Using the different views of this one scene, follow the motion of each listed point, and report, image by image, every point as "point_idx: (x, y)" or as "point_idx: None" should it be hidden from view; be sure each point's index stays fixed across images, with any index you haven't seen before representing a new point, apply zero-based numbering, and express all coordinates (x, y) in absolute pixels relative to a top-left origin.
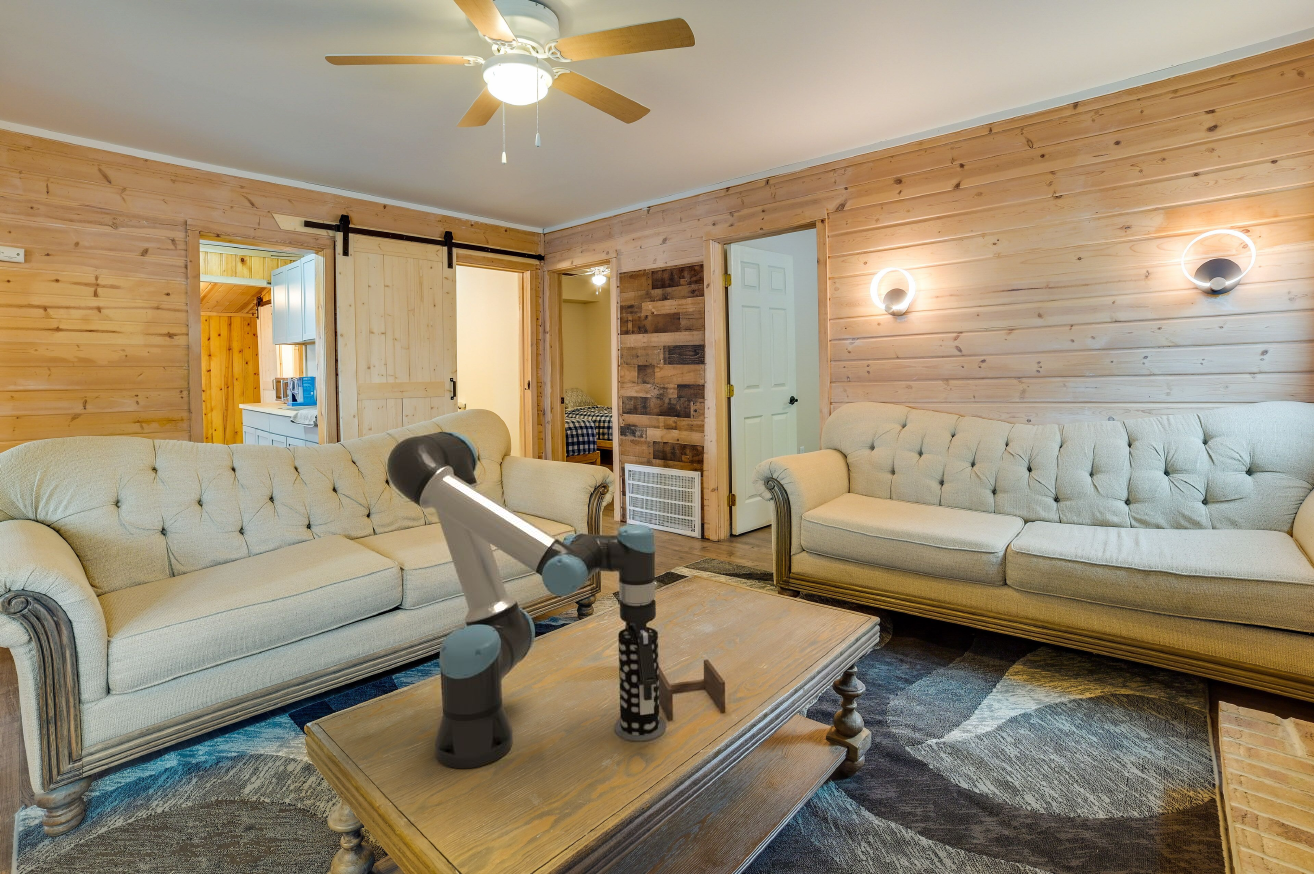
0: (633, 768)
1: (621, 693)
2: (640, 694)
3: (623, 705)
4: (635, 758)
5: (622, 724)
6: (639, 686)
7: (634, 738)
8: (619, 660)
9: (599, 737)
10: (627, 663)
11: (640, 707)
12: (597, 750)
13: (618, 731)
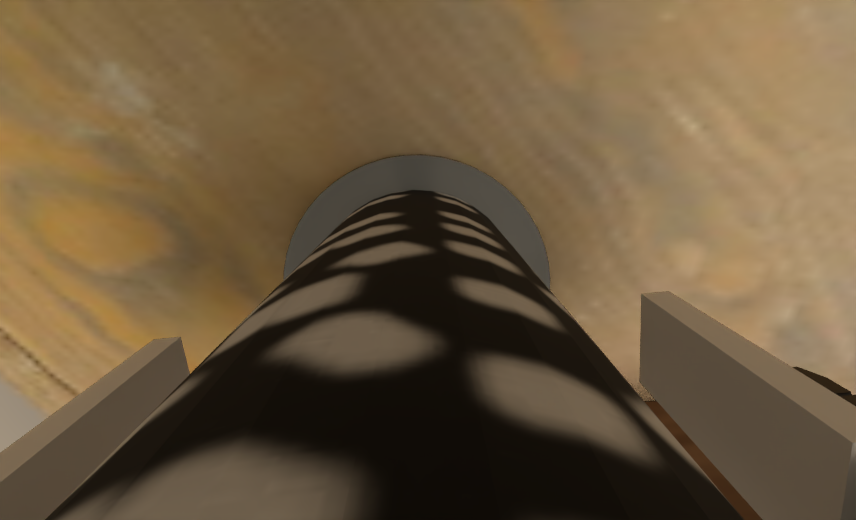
0: (68, 215)
1: (353, 237)
2: (30, 432)
3: (341, 231)
4: (150, 233)
5: (376, 201)
6: (1, 477)
7: (294, 249)
8: (327, 381)
9: (356, 65)
10: None
11: (127, 362)
12: (230, 45)
13: (371, 174)
